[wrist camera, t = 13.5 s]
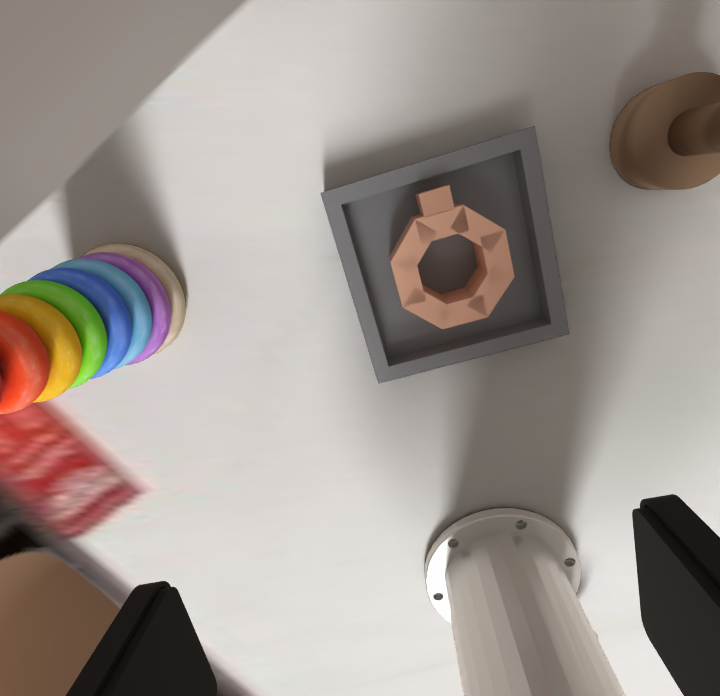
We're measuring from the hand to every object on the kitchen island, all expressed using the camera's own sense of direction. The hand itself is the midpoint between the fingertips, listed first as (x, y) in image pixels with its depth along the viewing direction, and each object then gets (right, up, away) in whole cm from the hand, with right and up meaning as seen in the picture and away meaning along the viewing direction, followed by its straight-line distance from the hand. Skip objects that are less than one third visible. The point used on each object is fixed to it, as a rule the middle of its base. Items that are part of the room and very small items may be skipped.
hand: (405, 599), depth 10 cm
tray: (+5, +11, +23) cm, 26 cm away
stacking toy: (-17, +9, +24) cm, 31 cm away
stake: (+18, +18, +20) cm, 32 cm away
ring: (+5, +11, +22) cm, 25 cm away
